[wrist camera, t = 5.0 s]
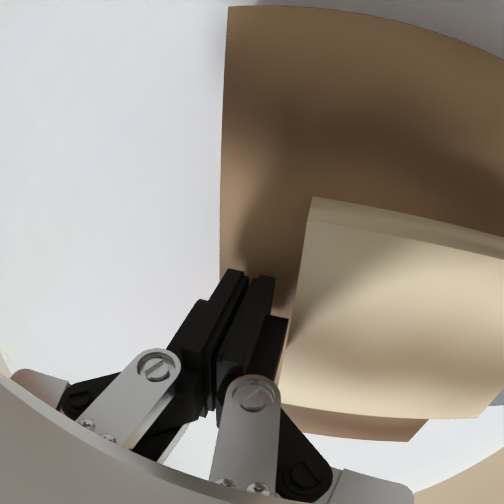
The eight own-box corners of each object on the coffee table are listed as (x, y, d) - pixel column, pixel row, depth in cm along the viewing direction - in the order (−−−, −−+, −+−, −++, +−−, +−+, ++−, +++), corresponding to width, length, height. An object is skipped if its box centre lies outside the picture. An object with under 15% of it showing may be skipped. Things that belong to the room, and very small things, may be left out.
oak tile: (312, 196, 9) (307, 220, 8) (547, 251, 7) (572, 278, 6) (283, 366, 13) (274, 401, 12) (469, 387, 11) (476, 418, 10)
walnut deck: (245, 20, 9) (228, 6, 7) (537, 93, 6) (565, 96, 5) (232, 391, 18) (222, 415, 17) (406, 417, 16) (407, 441, 14)
